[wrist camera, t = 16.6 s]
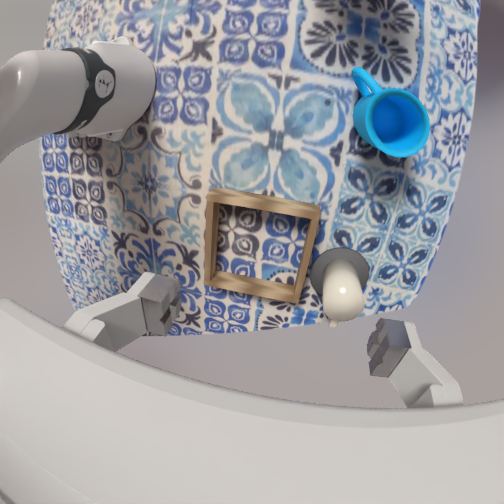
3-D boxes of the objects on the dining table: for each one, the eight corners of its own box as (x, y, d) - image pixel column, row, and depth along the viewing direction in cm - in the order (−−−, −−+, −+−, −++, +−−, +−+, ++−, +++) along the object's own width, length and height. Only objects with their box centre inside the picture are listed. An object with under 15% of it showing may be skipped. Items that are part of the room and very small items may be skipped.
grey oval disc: (304, 292, 48) (304, 294, 47) (317, 242, 43) (317, 243, 42) (357, 301, 47) (358, 303, 46) (376, 253, 42) (376, 255, 41)
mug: (416, 132, 31) (440, 139, 24) (372, 157, 35) (387, 169, 28) (372, 59, 28) (388, 48, 21) (325, 85, 31) (330, 78, 24)
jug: (326, 256, 43) (329, 285, 36) (361, 262, 42) (370, 292, 36) (314, 298, 47) (314, 331, 41) (346, 304, 47) (350, 336, 40)
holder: (210, 273, 50) (204, 284, 47) (214, 187, 41) (207, 194, 38) (299, 291, 48) (297, 303, 45) (319, 205, 40) (320, 214, 37)
